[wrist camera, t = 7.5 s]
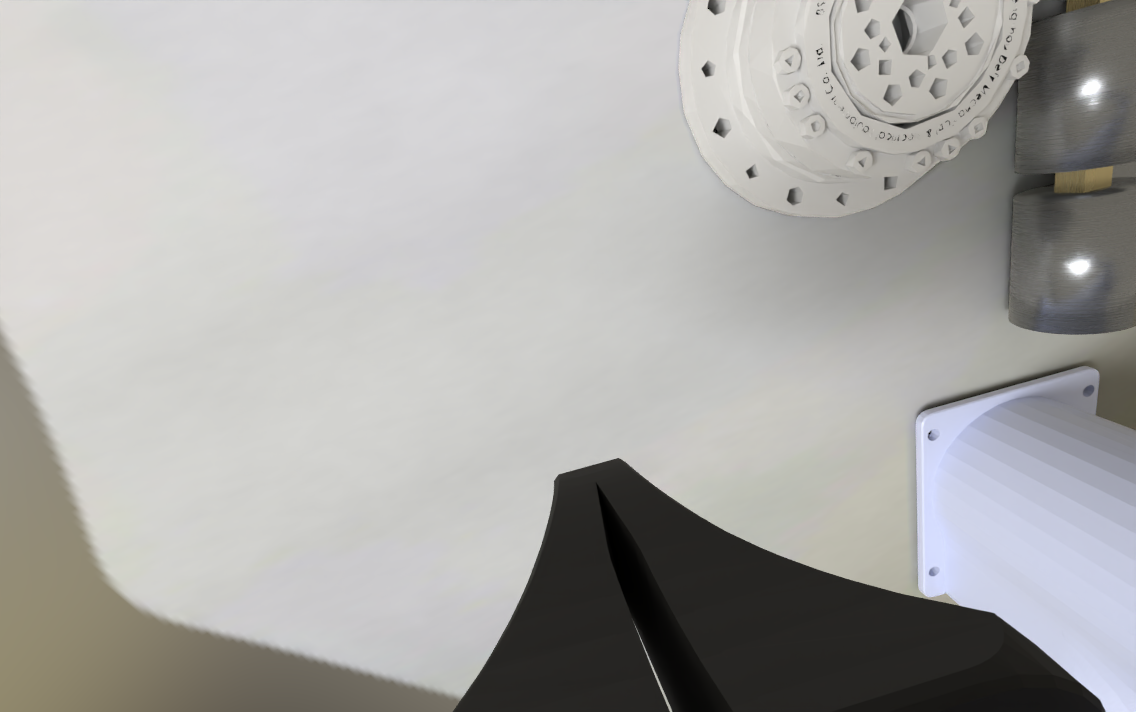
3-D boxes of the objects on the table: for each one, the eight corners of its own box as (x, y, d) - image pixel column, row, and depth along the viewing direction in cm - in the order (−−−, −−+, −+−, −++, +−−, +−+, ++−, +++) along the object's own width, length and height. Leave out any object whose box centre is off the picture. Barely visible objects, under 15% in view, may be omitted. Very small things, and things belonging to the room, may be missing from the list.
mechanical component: (989, 123, 19) (906, -192, 16) (1127, 104, 15) (1052, -324, 12) (748, 268, 20) (621, -11, 17) (819, 289, 16) (665, -79, 12)
